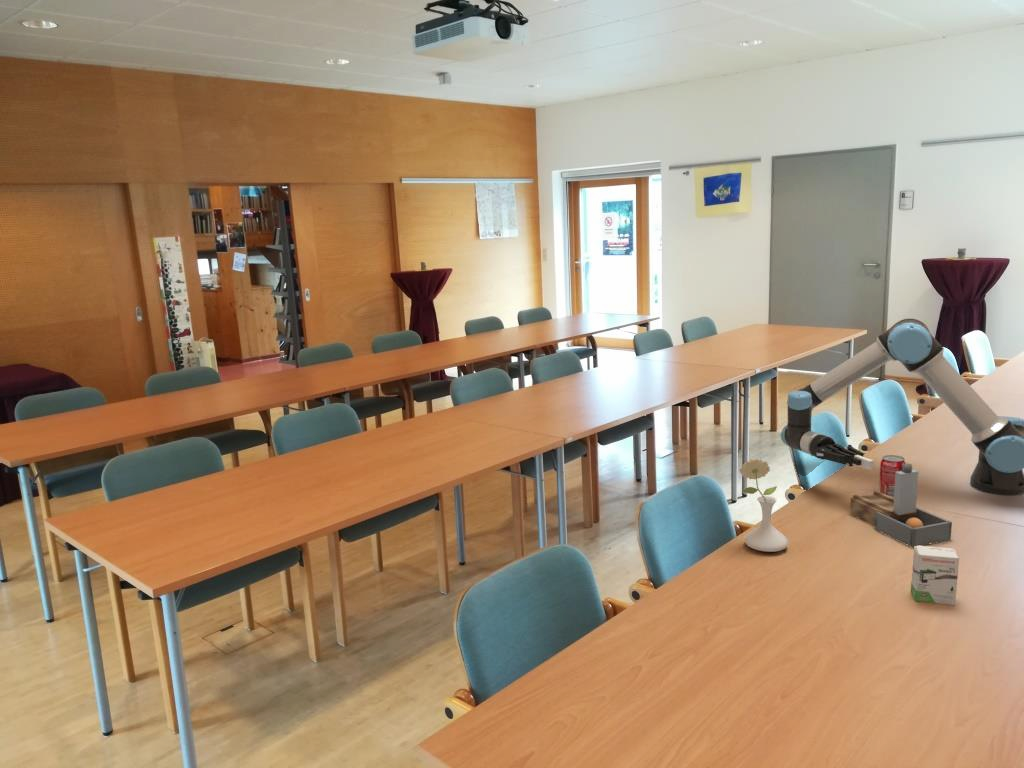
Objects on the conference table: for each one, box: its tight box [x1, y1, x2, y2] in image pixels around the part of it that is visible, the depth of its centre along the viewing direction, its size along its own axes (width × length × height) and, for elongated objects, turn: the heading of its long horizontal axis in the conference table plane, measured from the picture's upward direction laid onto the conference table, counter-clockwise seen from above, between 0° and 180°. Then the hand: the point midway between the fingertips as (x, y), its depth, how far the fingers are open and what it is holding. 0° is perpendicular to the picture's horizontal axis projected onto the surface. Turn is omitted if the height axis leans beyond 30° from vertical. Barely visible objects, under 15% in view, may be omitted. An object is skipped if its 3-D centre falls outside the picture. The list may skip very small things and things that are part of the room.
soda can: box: [878, 454, 906, 498], centre depth 237 cm, size 7×7×13 cm
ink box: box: [910, 545, 960, 606], centre depth 175 cm, size 9×5×12 cm, turn 72°
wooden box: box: [849, 490, 918, 527], centre depth 220 cm, size 15×10×6 cm, turn 16°
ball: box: [905, 518, 923, 528], centre depth 209 cm, size 4×4×4 cm
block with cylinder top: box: [893, 462, 919, 515], centre depth 211 cm, size 2×6×14 cm, turn 106°
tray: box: [874, 506, 953, 548], centre depth 210 cm, size 14×13×5 cm
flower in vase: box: [738, 458, 789, 553], centre depth 205 cm, size 13×11×25 cm
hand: (871, 465), depth 223 cm, fingers closed
